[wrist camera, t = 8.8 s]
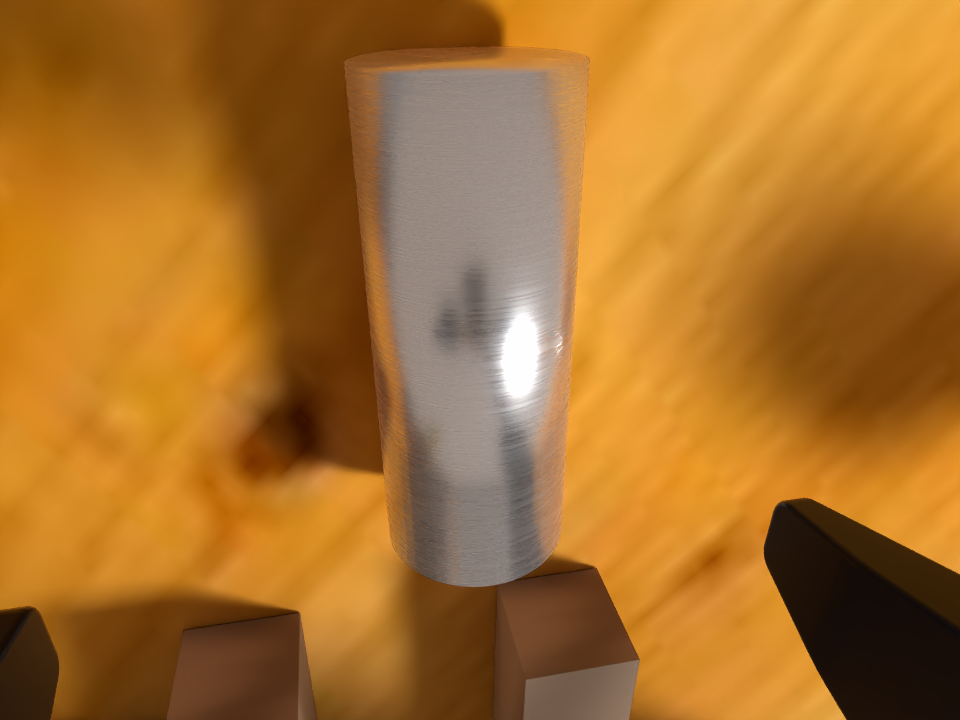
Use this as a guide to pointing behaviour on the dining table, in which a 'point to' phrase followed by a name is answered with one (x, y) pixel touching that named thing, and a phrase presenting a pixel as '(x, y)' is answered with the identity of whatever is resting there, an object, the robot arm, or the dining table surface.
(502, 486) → the axle
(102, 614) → the dining table surface
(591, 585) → the pair of brown blocks
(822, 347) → the dining table surface
